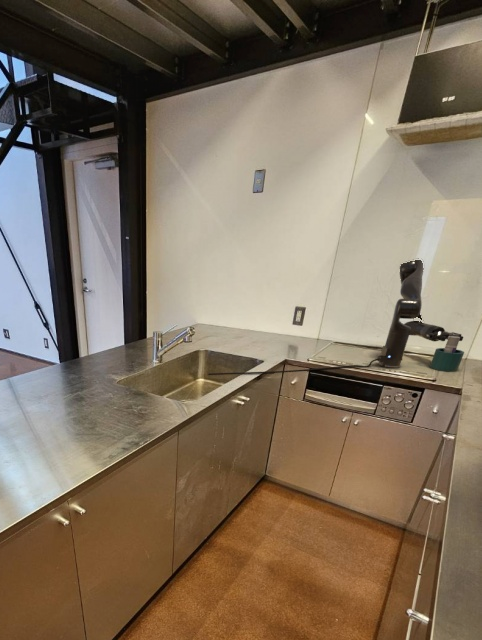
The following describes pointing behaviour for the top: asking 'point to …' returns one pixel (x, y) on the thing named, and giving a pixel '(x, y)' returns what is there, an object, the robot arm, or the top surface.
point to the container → (451, 344)
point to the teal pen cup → (446, 360)
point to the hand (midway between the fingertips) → (453, 339)
